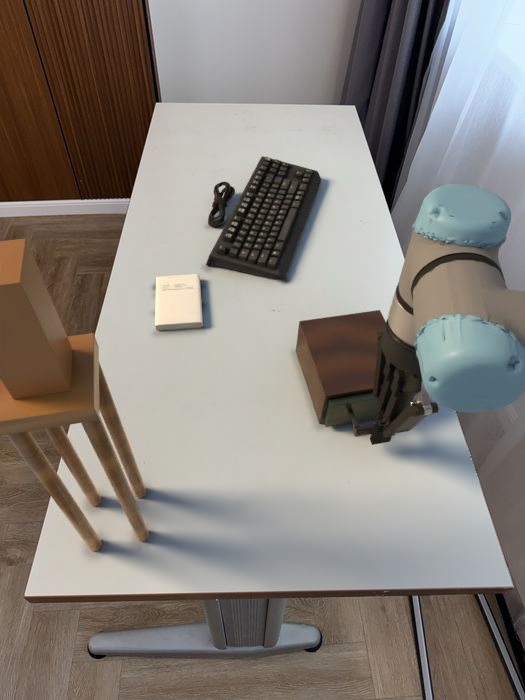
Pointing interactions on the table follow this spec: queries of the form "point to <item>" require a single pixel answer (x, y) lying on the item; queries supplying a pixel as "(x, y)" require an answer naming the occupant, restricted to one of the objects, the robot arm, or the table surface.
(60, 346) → the block
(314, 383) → the cabinet
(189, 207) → the table surface
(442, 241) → the robot arm
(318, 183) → the keyboard
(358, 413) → the drawer
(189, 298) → the hard drive
